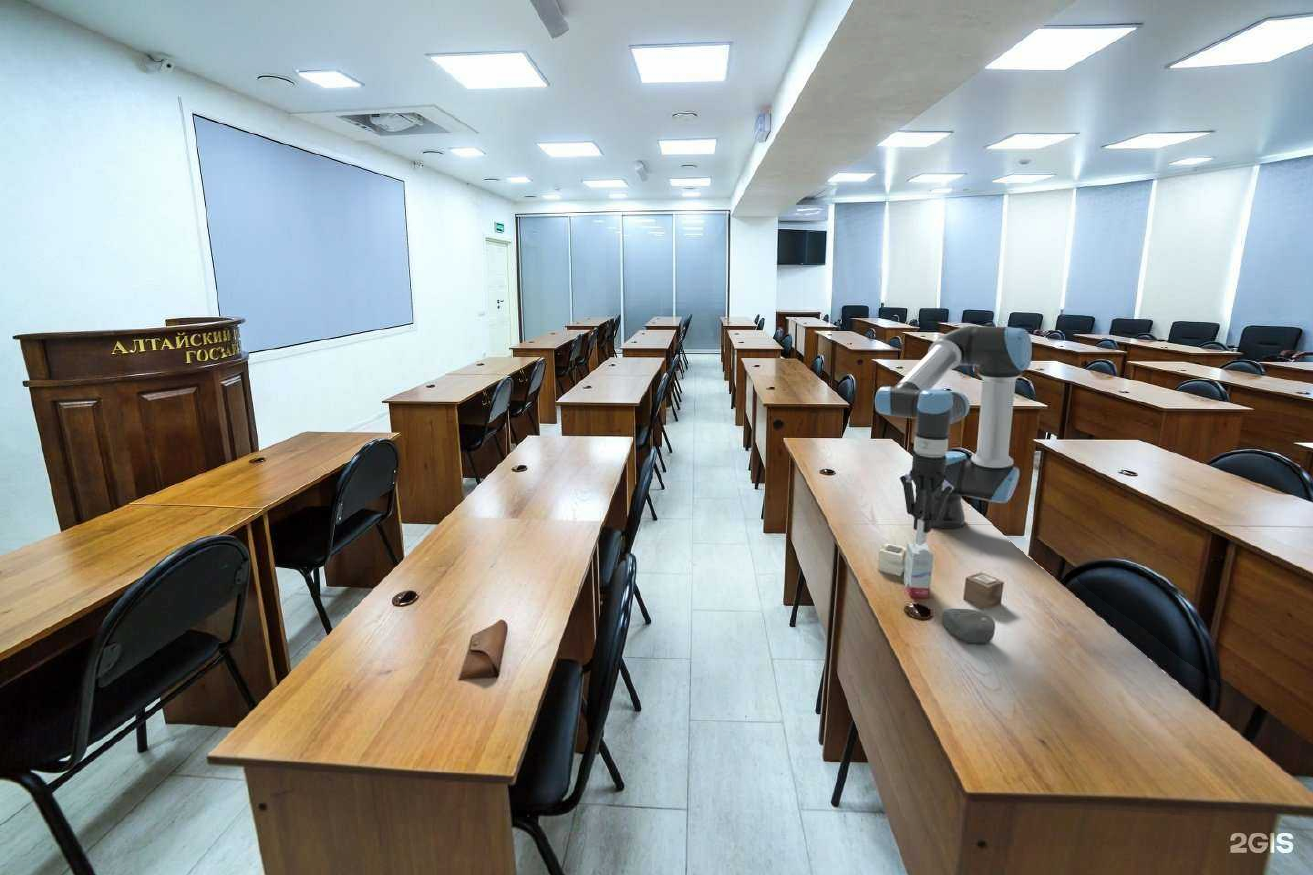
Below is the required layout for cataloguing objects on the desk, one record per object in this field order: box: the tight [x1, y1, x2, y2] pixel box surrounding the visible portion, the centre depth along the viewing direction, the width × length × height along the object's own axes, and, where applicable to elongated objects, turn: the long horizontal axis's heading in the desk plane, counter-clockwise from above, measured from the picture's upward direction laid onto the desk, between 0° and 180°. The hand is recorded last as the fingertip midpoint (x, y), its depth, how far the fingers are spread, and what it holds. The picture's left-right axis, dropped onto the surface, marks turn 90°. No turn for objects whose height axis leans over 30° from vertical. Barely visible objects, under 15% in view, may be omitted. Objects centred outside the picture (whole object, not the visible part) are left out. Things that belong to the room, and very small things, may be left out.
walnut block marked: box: [963, 571, 1005, 610], centre depth 153 cm, size 6×6×6 cm
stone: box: [941, 608, 996, 645], centre depth 139 cm, size 9×9×10 cm
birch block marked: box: [877, 542, 907, 577], centre depth 171 cm, size 6×6×6 cm
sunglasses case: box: [458, 619, 509, 681], centre depth 134 cm, size 18×7×7 cm, turn 8°
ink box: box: [903, 540, 934, 599], centre depth 158 cm, size 9×5×12 cm, turn 168°
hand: (920, 542), depth 156 cm, fingers closed
